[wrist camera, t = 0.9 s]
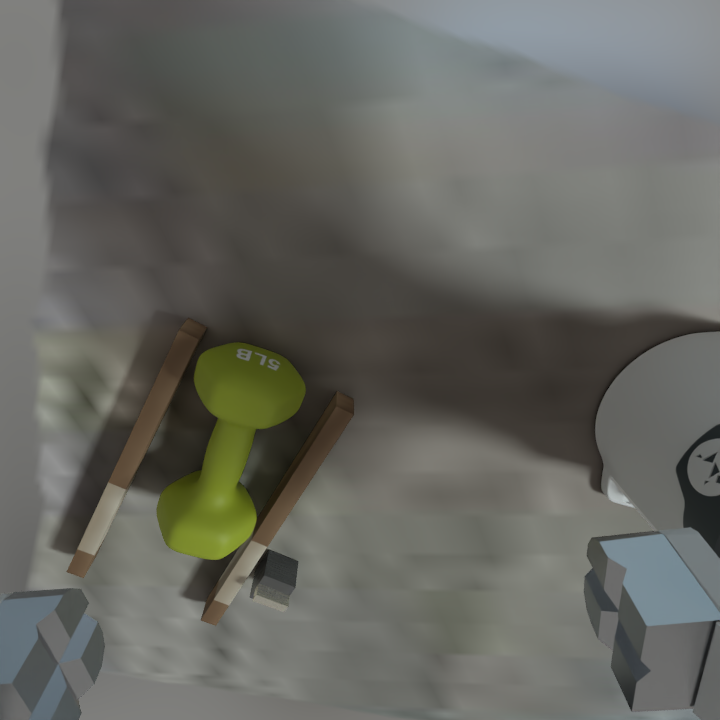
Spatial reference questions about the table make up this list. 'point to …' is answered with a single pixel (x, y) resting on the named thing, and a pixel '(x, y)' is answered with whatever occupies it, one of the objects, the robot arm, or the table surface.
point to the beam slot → (273, 511)
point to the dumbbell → (228, 448)
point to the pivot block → (274, 581)
